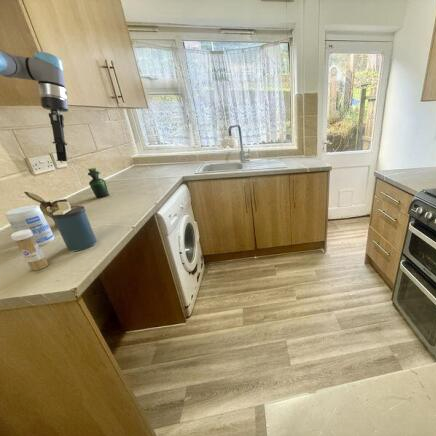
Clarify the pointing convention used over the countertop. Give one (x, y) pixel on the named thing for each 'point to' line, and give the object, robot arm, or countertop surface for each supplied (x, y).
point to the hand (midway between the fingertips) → (62, 161)
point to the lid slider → (62, 208)
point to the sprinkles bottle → (30, 249)
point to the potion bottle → (97, 184)
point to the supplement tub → (31, 223)
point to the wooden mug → (46, 204)
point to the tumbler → (75, 229)
